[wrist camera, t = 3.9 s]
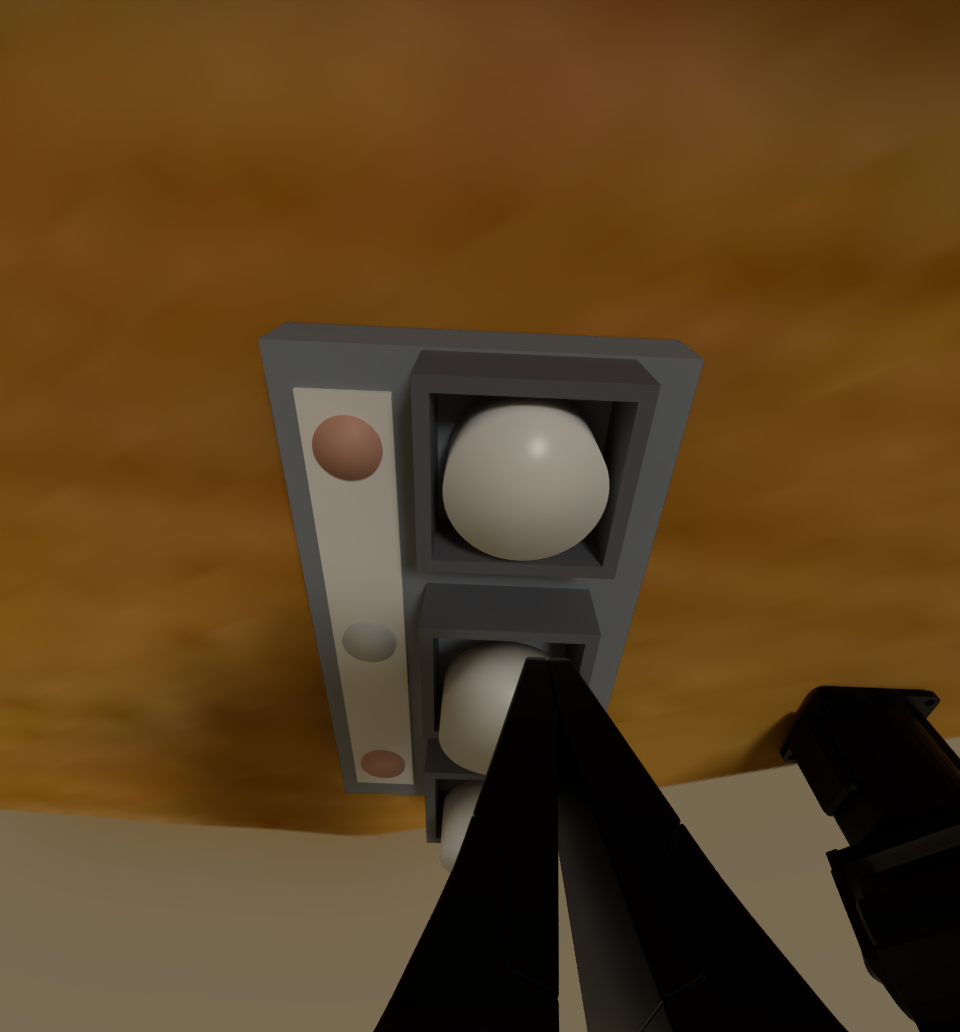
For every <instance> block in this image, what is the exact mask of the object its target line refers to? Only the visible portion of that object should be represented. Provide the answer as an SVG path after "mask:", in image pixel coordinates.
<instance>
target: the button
mask: <svg viewBox="0 0 960 1032" xmlns="http://www.w3.org/2000/svg"><path fill="white" fill-rule="evenodd" d="M608 495H609V476H608V470H607V467H606V464H605V461H604V459H603V457H602V454H601V452H600V450H599V447H598V445H597V443H596V441H595V438H594V436H593V434H592V432H591V429H590V427H589V425H588V423H587V421H586V419H585V418H584V417H583V415H582V414H581V412H580V411H579V410H578V409H577V408H576V407H575V406H574V405H573V404H571V403H570V402H569V401H567V400H566V399H555V398H532V397H510V396H486V397H485V398H483V399H481V400H479V401H478V402H477V403H476V404H474V405H473V406H472V407H471V408H470V409H469V410H468V411H467V412H466V413H465V414H464V415H463V416H462V418H461V419H460V420H459V422H458V424H457V425H456V427H455V429H454V432H453V434H452V437H451V440H450V445H449V450H448V456H447V462H446V468H445V474H444V481H443V501H444V506H445V510H446V513H447V515H448V518H449V520H450V521H451V523H452V525H453V527H454V528H455V529H456V530H457V532H458V533H459V534H460V535H461V536H462V537H463V538H464V539H465V540H466V541H467V542H468V543H470V544H471V545H472V546H474V547H475V548H477V549H479V550H480V551H483V552H485V553H487V554H489V555H492V556H495V557H498V558H503V559H508V560H517V561H529V560H538V559H543V558H547V557H551V556H554V555H557V554H559V553H561V552H564V551H566V550H568V549H569V548H571V547H573V546H574V545H576V544H577V543H579V542H580V541H581V540H583V539H584V538H585V537H586V536H587V535H588V534H589V533H590V532H591V531H592V529H593V528H594V527H595V526H596V525H597V523H598V521H599V520H600V518H601V516H602V514H603V512H604V510H605V507H606V504H607V500H608Z"/></svg>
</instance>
